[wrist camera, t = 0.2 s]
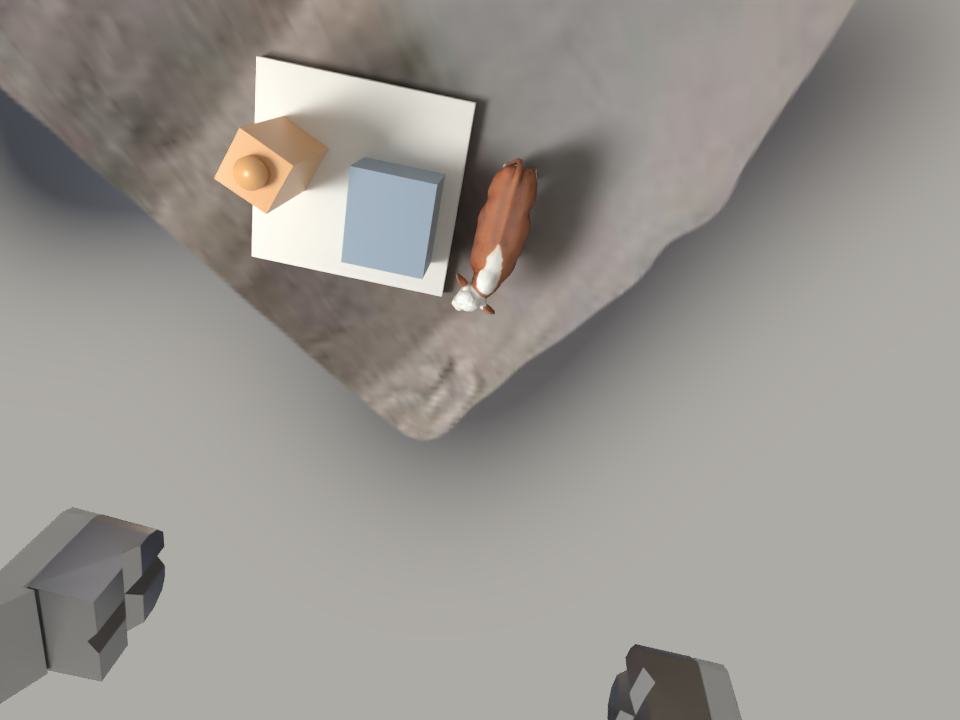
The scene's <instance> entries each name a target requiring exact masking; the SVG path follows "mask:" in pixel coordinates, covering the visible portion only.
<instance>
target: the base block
mask: <svg viewBox="0 0 960 720" xmlns="http://www.w3.org/2000/svg"><path fill="white" fill-rule="evenodd" d="M444 178H445V174H442V173H437V172H432V171H428V170H423V169H418V168H414V167H409V166H404V165H399V164H395V163H390V162H385V161H381V160H376V159H371V158H367V157H364V158H362V159H360V160H359V161H357V162H356V163H354V164H352V165H351V166H350V172H349V183H348V194H347V204H346V215H345V226H344V237H343V247H342V258H341V262H343V263H348V264H353V265H358V266H362V267H367V268H372V269H376V270H381V271H386V272H391V273H395V274H400V275H405V276H409V277H414V278H419V279H423V277H424V275H425V273H426V271H427V269H428V267H429V265H430V263H431V259H432V252H433V246H434V240H435V234H436V228H437V221H438V215H439V209H440V203H441V197H442V191H443V184H444Z"/></svg>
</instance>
